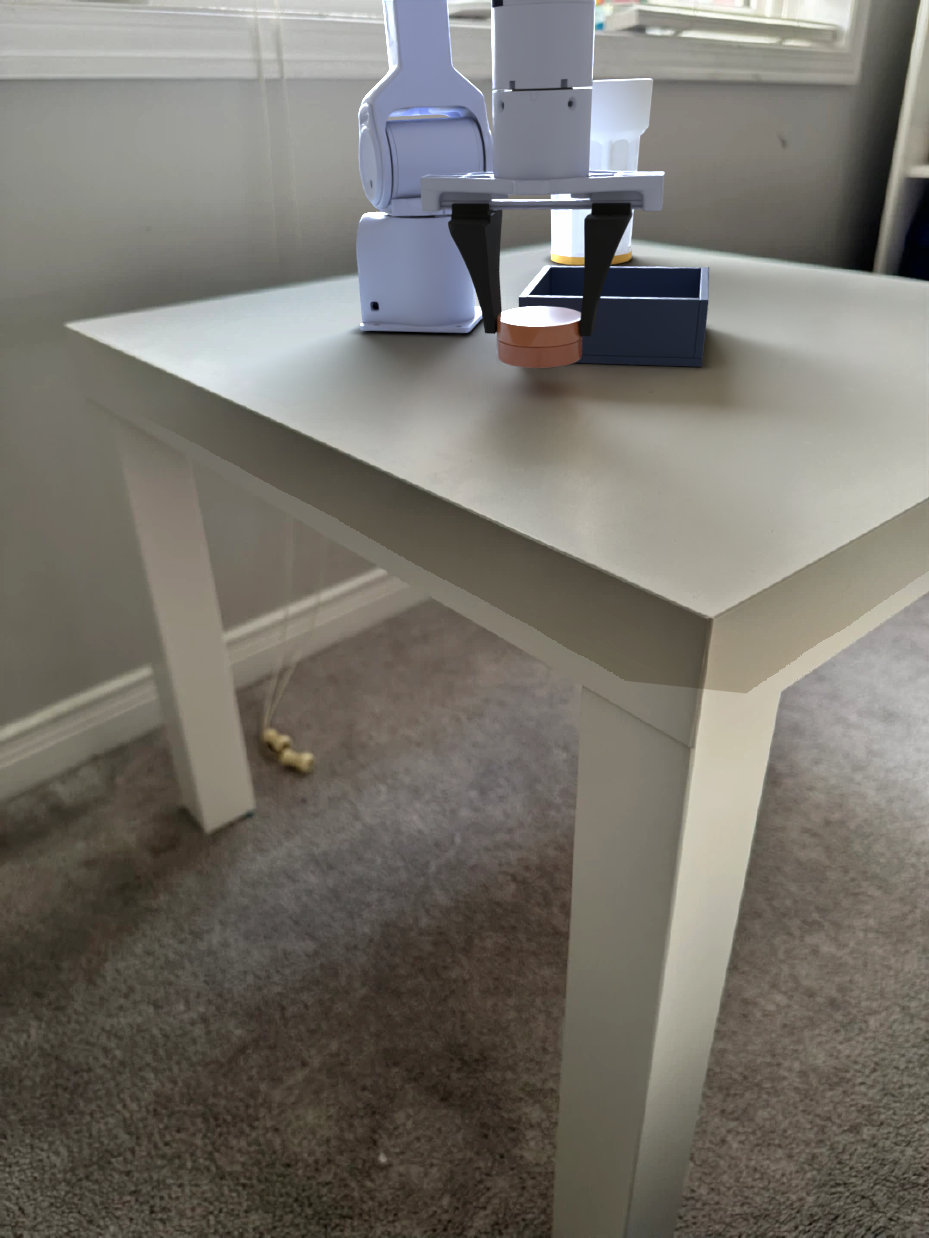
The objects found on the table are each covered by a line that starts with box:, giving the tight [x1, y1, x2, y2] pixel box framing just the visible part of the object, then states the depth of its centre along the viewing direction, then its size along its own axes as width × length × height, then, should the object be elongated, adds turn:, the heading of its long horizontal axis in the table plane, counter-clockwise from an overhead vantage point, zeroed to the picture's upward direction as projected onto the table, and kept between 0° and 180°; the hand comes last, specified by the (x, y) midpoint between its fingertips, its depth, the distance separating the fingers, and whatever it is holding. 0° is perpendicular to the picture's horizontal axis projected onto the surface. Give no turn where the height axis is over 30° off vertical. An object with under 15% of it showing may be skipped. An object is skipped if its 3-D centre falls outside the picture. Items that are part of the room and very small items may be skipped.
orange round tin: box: [496, 306, 583, 369], centre depth 59 cm, size 6×6×3 cm
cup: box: [550, 78, 654, 266], centre depth 99 cm, size 11×11×17 cm
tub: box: [518, 265, 710, 368], centre depth 70 cm, size 13×12×5 cm
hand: (538, 331), depth 59 cm, fingers closed on orange round tin, 5 cm apart
